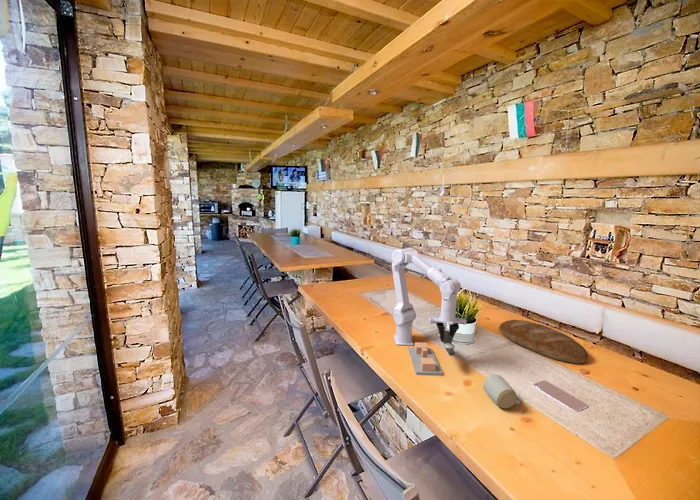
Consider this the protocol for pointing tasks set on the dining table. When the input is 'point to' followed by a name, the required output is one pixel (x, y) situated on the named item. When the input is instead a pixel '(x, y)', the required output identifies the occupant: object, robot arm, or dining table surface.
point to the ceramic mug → (500, 391)
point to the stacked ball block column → (448, 343)
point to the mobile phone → (560, 396)
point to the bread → (544, 340)
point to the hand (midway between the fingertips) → (445, 340)
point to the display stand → (424, 360)
